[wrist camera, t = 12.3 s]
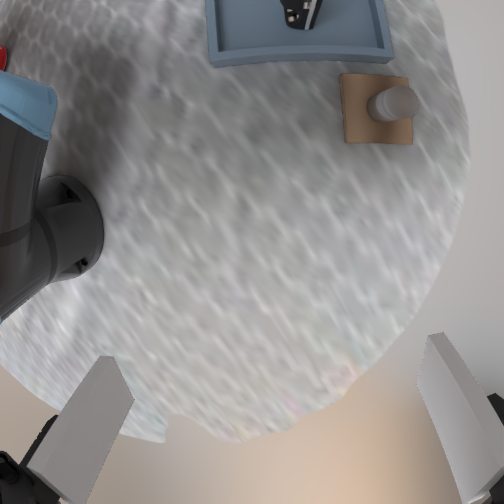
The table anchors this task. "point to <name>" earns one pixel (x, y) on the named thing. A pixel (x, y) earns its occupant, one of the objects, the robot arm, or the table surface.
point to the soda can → (3, 57)
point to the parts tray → (296, 33)
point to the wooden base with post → (377, 109)
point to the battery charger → (301, 13)
